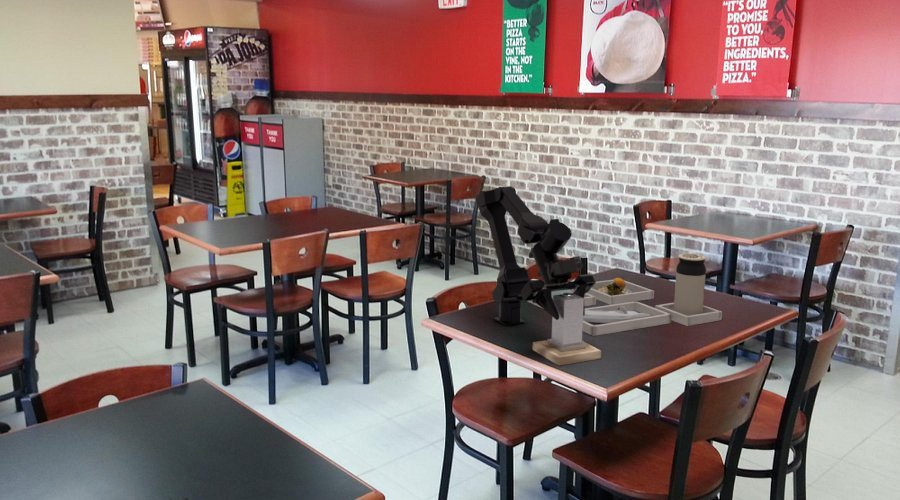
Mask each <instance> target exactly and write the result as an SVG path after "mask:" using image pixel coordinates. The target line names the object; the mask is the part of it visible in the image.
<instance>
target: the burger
mask: <svg viewBox="0 0 900 500" xmlns="http://www.w3.org/2000/svg"><path fill="white" fill-rule="evenodd" d="M624 277H625V274H624V275H623V276H622V278H620V277H615V278H613V280H614V281H615V282H611V284H609V285H608V286H606V287H599V288H597V289H596V290H597V291H600V292H603V293H605V294H608V295H610V296H614V295H621V294H628V293H634V291H633V290H631V289H629V288H625V286H626V284H625V281H626V280H624V279H623V278H624Z"/></svg>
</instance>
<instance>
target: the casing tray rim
mask: <svg viewBox="0 0 900 500" xmlns="http://www.w3.org/2000/svg"><path fill="white" fill-rule="evenodd" d="M619 306H624V307H625V308H626V311H636V312H638V313H645V314H651V316H649V317H645V318H638V319H632V320H626V321H619V322H613V323H600V324H595V325H594V324H593V323H587V322H585V321H583V329H582V333H586V334H588V335H590V336H591V337H595V336H602V335H608V334H614V333H619V332H626V331H633V330H638V329H644V328H651V327H656V326H661V325H667V324H671V323H672V320H671V318H672V314H669V313H666V312H664V311H661V310H658V309H656V308H655V307H653V306H650V305H647V304H645V303H642V302H640V301H633V302H627V303H620V304H613V305H609V304H607V305H602V306H593V307H587V308H586V307H585V311H586V310H598V311H616V309H617V308H618V307H619ZM619 310H622V311H624V309H623V308H619Z"/></svg>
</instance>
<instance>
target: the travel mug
mask: <svg viewBox="0 0 900 500" xmlns="http://www.w3.org/2000/svg"><path fill="white" fill-rule="evenodd" d="M677 257H678V258H679V261H678V263H677V264H676V272H675V273H676V274H675V286H674V300H673V303H674V311H675V312H678V313H681V314H683V315H686V316H691V315H697V314H702V313H703V305H704V299H705V285H706V274H707V273H706V272H707V268H706V265H705V261H706V259H707V256H705V255H703V254H699V253H698V254H697V253H680V254H678V256H677Z"/></svg>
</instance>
